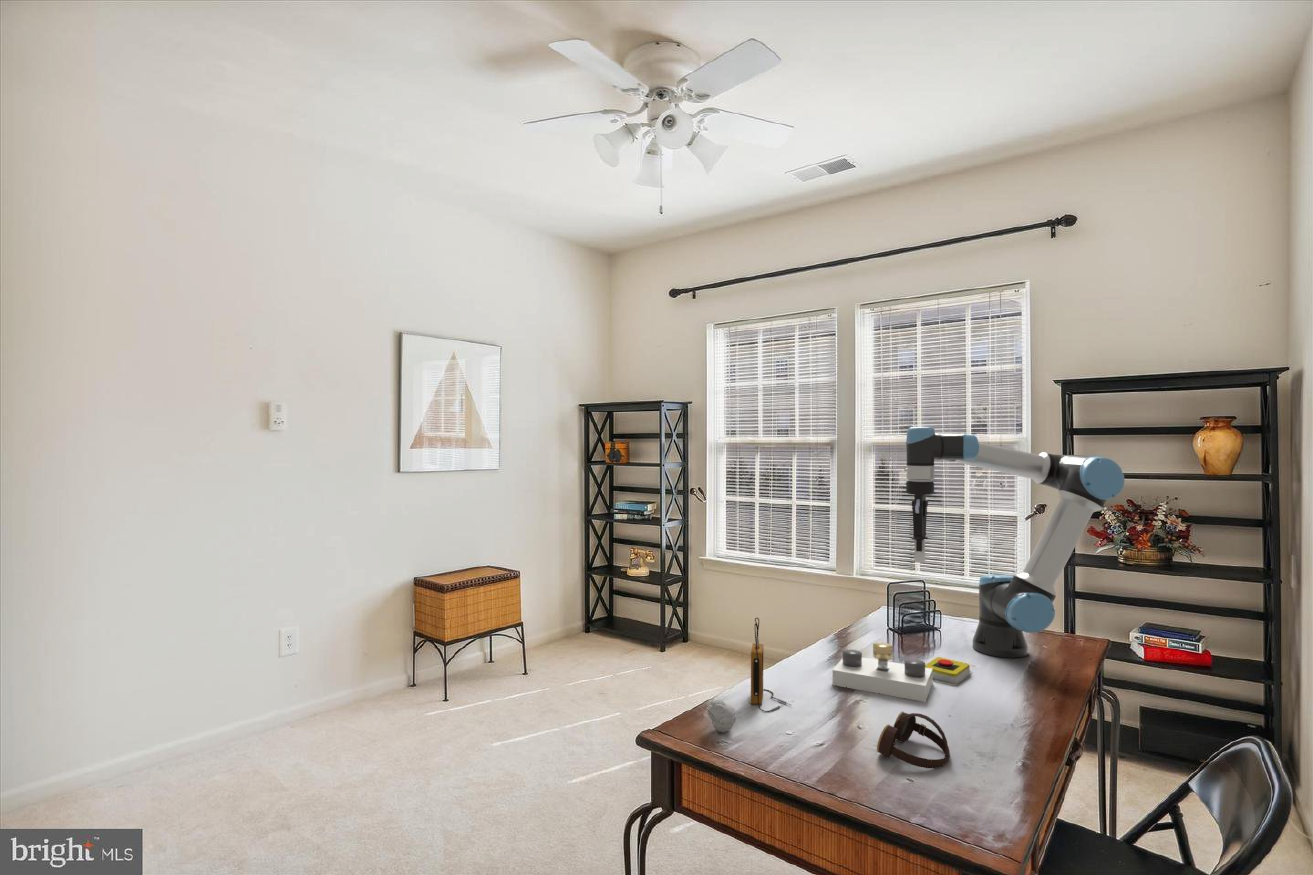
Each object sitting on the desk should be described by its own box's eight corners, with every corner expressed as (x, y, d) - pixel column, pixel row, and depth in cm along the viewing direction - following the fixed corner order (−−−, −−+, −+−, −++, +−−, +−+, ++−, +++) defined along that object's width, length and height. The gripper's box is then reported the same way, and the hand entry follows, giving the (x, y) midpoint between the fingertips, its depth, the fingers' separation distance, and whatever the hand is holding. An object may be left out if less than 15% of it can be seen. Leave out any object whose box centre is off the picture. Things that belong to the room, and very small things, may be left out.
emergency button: (919, 663, 186) (940, 650, 197) (919, 679, 186) (940, 665, 197) (954, 671, 180) (973, 657, 191) (954, 688, 180) (973, 673, 191)
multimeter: (792, 714, 161) (792, 630, 161) (749, 711, 163) (749, 627, 163) (792, 691, 176) (792, 614, 176) (753, 688, 178) (753, 611, 178)
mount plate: (932, 683, 182) (932, 668, 181) (925, 701, 169) (925, 685, 169) (845, 668, 193) (845, 654, 193) (832, 684, 180) (832, 669, 180)
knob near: (926, 687, 178) (926, 661, 178) (923, 694, 174) (923, 666, 174) (906, 684, 180) (906, 657, 180) (902, 690, 176) (903, 663, 176)
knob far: (863, 676, 186) (863, 651, 186) (859, 682, 181) (859, 656, 181) (844, 673, 188) (845, 648, 188) (840, 679, 184) (840, 653, 184)
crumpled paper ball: (701, 728, 154) (701, 697, 154) (729, 723, 156) (729, 693, 156) (713, 739, 148) (713, 707, 148) (741, 734, 151) (742, 703, 151)
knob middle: (894, 670, 182) (894, 644, 182) (890, 676, 177) (891, 649, 177) (874, 667, 184) (875, 641, 184) (871, 673, 180) (871, 646, 180)
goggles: (895, 731, 152) (905, 690, 151) (955, 762, 144) (967, 719, 143) (868, 756, 140) (879, 712, 139) (932, 791, 132) (945, 745, 131)
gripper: (909, 478, 204) (909, 557, 204) (902, 481, 193) (902, 564, 193) (936, 479, 201) (936, 559, 201) (931, 482, 189) (930, 567, 189)
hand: (919, 562), depth 197 cm, fingers closed
